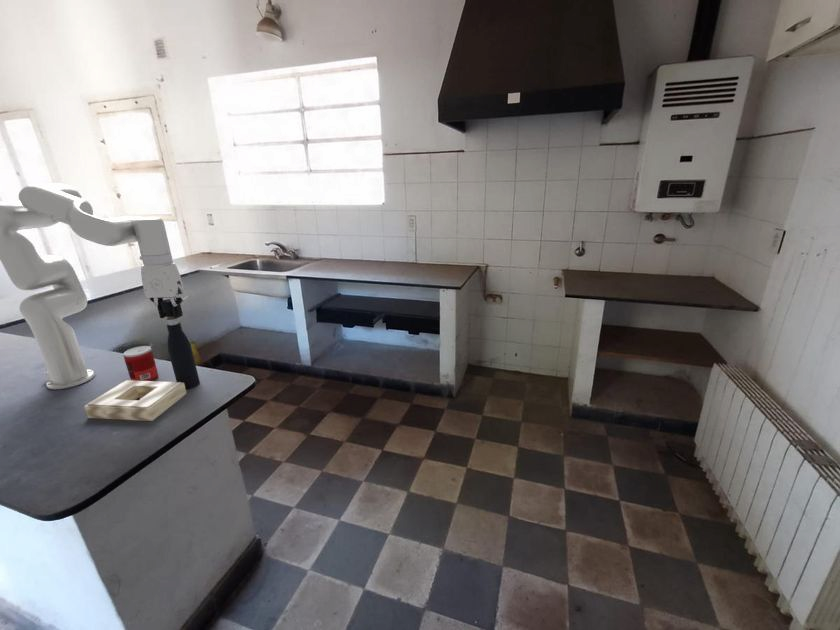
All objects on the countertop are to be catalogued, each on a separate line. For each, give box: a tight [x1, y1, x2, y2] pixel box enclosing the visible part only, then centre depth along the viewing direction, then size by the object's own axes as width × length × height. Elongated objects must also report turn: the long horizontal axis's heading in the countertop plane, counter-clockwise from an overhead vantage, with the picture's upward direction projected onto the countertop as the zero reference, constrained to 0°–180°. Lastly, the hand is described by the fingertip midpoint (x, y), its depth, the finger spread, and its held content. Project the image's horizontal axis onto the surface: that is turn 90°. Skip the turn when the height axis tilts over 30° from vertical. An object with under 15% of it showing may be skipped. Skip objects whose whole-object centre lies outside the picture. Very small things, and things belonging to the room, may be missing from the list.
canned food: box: [122, 345, 159, 381], centre depth 132 cm, size 8×8×11 cm
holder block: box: [84, 379, 188, 422], centre depth 117 cm, size 20×15×4 cm
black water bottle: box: [160, 298, 201, 391], centre depth 124 cm, size 6×6×30 cm
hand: (171, 316), depth 121 cm, fingers closed on black water bottle, 3 cm apart
